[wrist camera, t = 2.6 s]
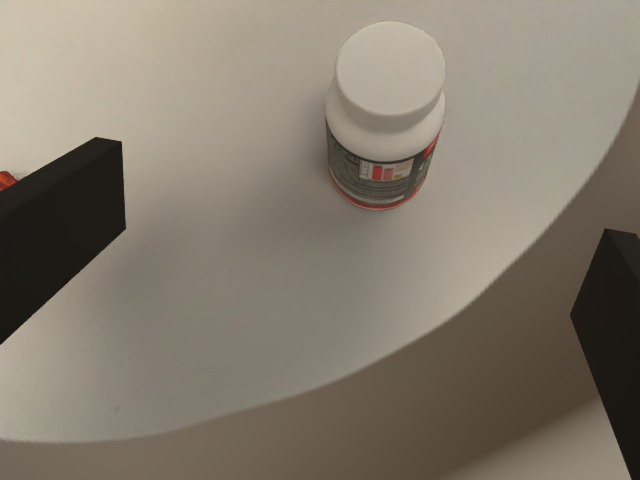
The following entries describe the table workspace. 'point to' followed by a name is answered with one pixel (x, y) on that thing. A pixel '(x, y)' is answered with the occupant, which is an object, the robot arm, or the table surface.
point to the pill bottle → (384, 114)
